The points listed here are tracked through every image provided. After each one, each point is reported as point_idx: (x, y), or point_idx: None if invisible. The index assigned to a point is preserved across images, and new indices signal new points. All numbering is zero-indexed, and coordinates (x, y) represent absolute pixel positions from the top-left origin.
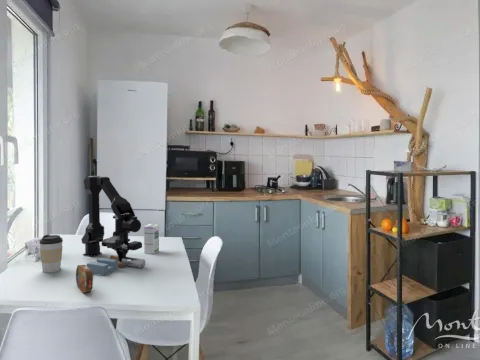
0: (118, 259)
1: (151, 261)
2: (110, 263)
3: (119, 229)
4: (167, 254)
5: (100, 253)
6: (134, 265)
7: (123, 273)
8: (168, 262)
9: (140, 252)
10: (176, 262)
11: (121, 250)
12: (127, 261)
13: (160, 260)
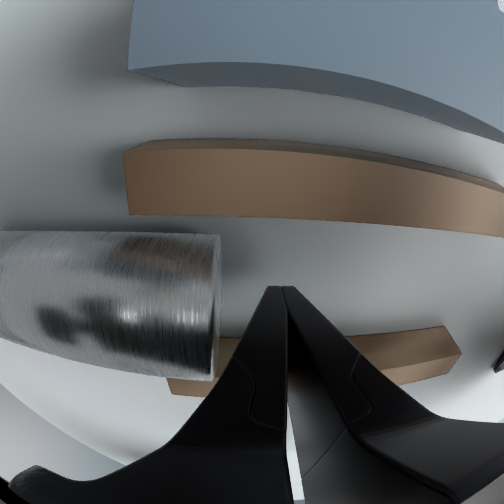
0: (371, 350)
1: (99, 392)
2: None
3: None
4: (143, 455)
5: (500, 362)
6: (19, 231)
7: (36, 26)
8: (27, 381)
9: (296, 457)
10: (12, 382)
11: (147, 499)
12: (84, 255)
13: (81, 405)
